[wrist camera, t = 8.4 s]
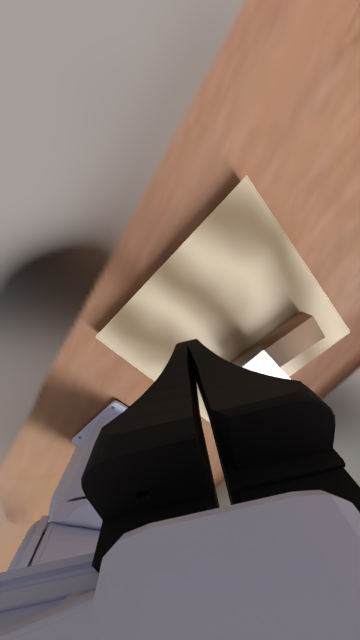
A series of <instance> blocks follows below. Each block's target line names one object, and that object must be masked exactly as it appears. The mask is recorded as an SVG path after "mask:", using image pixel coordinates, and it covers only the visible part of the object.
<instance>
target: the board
mask: <svg viewBox="0 0 360 640" xmlns="http://www.w3.org/2000/svg"><path fill="white" fill-rule="evenodd" d="M301 311H302V312H305V313H307V314H309V315H312V316H313V317H314V318H315V320H316V322H317V324H318V325H319V327H320V329H321V330H322V332H323V334H324V336H325V338H323V339H322V340H320V341H319V342H317V343H316V344H314V345H313V346H311V347H310V348H308V349H307V350H305V351H304V352H302V353H301V354H299V355H298V356H296V357H295V358H293V359H292V360H290V361H289V362H287V363H286V364H284V365H283V366H281V367H280V368H281V369H282V370H283V371H284V372H285V374H286V375H287V376H288V377H289V376H291V375H292V374H294V373H295V372H296V371H298V370H299V369H300V368H302V367H303V366H304V365H306V364H307V363H309V362H310V361H311V360H313V359H314V358H315V357H317V356H318V355H320V354H321V353H322V352H324V351H325V350H326V349H328V348H329V347H331V346H332V345H333V344H335V343H336V342H337V341H339V340H340V339H342V338H343V337H344V336H346V335H347V334H348V333H350V330H349V329H348V327H347V326H346V324H345V323H344V321H343V320H342V318H341V317H340V315H339V314H338V312H337V311H336V309H335V308H334V306H333V305H332V303H331V302H330V300H329V299H328V297H327V296H326V294H325V293H324V291H323V290H322V288H321V287H320V285H319V284H318V282H317V281H316V279H315V278H314V276H313V275H312V273H311V272H310V270H309V269H308V267H307V266H306V264H305V263H304V261H303V260H302V258H301V257H300V255H299V254H298V252H297V250H296V249H295V247H294V246H293V244H292V243H291V241H290V240H289V238H288V237H287V235H286V234H285V232H284V231H283V229H282V228H281V226H280V225H279V223H278V222H277V220H276V219H275V217H274V216H273V214H272V213H271V211H270V210H269V208H268V207H267V205H266V204H265V202H264V201H263V199H262V198H261V196H260V195H259V193H258V192H257V190H256V189H255V187H254V186H253V184H252V183H251V181H250V180H249V178H248V177H247V175H246V176H245V177H244V178H243V179H242V180H241V182H240V183H239V184H238V185H237V186H236V187H235V188H234V189H233V190H232V191H231V192H230V193H229V194H228V195H227V196H226V198H225V199H224V200H223V201H222V202H221V203H220V204H219V205H218V206H217V207H216V208H215V209H214V210H213V211H212V212H211V214H210V215H209V216H208V217H207V218H206V219H205V220H204V221H203V222H202V223H201V224H200V225H199V226H198V227H197V229H196V230H195V231H194V232H193V233H192V234H191V235H190V236H189V237H188V238H187V239H186V240H185V241H184V242H183V243H182V245H181V246H180V247H179V248H178V249H177V250H176V251H175V252H174V253H173V254H172V255H171V256H170V257H169V258H168V259H167V261H166V262H165V263H164V264H163V265H162V266H161V267H160V268H159V269H158V270H157V271H156V272H155V273H154V274H153V276H152V277H151V278H150V279H149V280H148V281H147V282H146V283H145V284H144V285H143V286H142V287H141V288H140V289H139V290H138V292H137V293H136V294H135V295H134V296H133V297H132V298H131V299H130V300H129V301H128V302H127V303H126V304H125V305H124V306H123V308H122V309H121V310H120V311H119V312H118V313H117V314H116V315H115V316H114V317H113V318H112V319H111V320H110V321H109V322H108V324H107V325H106V326H105V327H104V328H103V329H102V330H101V331H100V332H99V333H98V334H97V335H96V337H95V338H97V339H98V340H99V341H101V342H102V343H103V344H105V345H106V346H108V347H109V348H110V349H112V350H113V351H114V352H116V353H117V354H118V355H120V356H121V357H122V358H124V359H125V360H126V361H128V362H129V363H130V364H132V365H133V366H134V367H136V368H137V369H138V370H140V371H141V372H142V373H144V374H145V375H146V376H148V377H149V378H151V379H152V380H153V381H156V380H157V378H158V377H159V376H160V374H161V373H162V371H163V370H164V368H165V366H166V365H167V363H168V361H169V359H170V357H171V355H172V353H173V351H174V348H175V345H176V344H177V343H180V342H184V341H189V340H193V339H198V340H199V341H200V342H201V343H202V344H203V345H204V346H205V347H207V348H208V349H209V350H211V351H212V352H213V353H215V354H216V355H218V356H220V357H221V358H223V359H225V360H227V361H229V362H231V361H232V360H234V359H235V358H236V357H238V356H239V355H240V354H242V353H243V352H245V351H246V350H247V349H249V348H250V347H252V346H253V345H254V344H256V343H257V342H259V341H260V340H261V339H263V338H264V337H266V336H267V335H268V334H270V333H271V332H273V331H274V330H275V329H277V328H278V327H280V326H281V325H282V324H284V323H285V322H287V321H288V320H289V319H291V318H292V317H294V316H295V315H296V314H298V313H299V312H301ZM197 391H198V399H199V408H200V416H202V417H203V418H204V419H206V420H207V421H208V422H210V420H209V417H208V414H207V411H206V408H205V405H204V403H203V400H202V397H201V394H200V391H199V388H198V385H197Z"/></svg>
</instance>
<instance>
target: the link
mask: <svg viewBox="0 0 360 640" xmlns="http://www.w3.org/2000/svg"><path fill="white" fill-rule="evenodd" d="M323 338H325V336H324V334H323V332H322V330H321V329H320V327H319V325H318V324H317V322H316V320H315V318H314V317H313V316H312V315H309V314H307V313H305V312H302V311H301V312H299V313H298V314H296V315H295V316H294V317H292V318H291V319H289V320H288V321H287V322H285V323H284V324H282V325H281V326H280V327H278V328H277V329H275V330H274V331H273V332H271V333H270V334H268V335H267V336H266V337H264V338H263V339H261V340H260V341H259V342H257V343H256V344H254V345H253V346H252V347H250V348H249V349H247V350H246V351H245V352H243V353H242V354H240V355H239V356H238V357H236V358H235V359H234V360H232V361H231V363H233V364H235V365H236V364H237V363H239V362H240V361H241V360H242V359H244V358H245V357H246V356H247V355H249V354H250V353H251V352H252V351H254V350H255V349H256V348H257V347H259V346H260V347H261V348H262V349H263V350H264V351H265V352H266V353H267V354H268V355H269V356H270V357H271V358H272V360H273V361H274V362H275V363H276V364H277V365H278V366H279V367H281V366H283V365H284V364H286V363H287V362H289V361H290V360H292V359H293V358H295V357H296V356H298V355H299V354H301V353H302V352H304V351H305V350H307V349H308V348H310V347H311V346H313V345H314V344H316V343H317V342H319V341H320V340H322V339H323Z"/></svg>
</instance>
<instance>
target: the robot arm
mask: <svg viewBox="0 0 360 640" xmlns="http://www.w3.org/2000/svg"><path fill="white" fill-rule="evenodd" d="M197 385H198V388H199V391H200V394H201V397H202V400H203V403H204V405H205V408H206V411H207V414H208V417H209V420H210V424H211V427H212V431H213V435H214V439H215V443H216V447H217V451H218V455H219V459H220V463H221V467H222V471H223V475H224V479H225V483H226V486H227V491H228V495H229V499H230V503H231V505H230V506H225V507H221V508H220V507H219V503H218V498H217V493H216V489H215V484H214V479H213V475H212V470H211V465H210V461H209V456H208V451H207V447H206V442H205V437H204V433H203V428H202V422H201V416H200V408H199V399H198V391H197ZM112 406H114V407H112ZM334 432H335V415H334V414H333V411H332V410H331V408H330V407H329V406H328V405H327V404H326V403H325V402H323V401H322V400H321V399H320V398H319V397H318V396H317V395H316V394H315V393H314V392H313V391H312V390H310V389H309V388H308V387H307V386H305V385H304V384H303V383H302V382H301V381H296V380H291V379H285V378H279V377H274V376H270V375H266V374H262V373H258V372H255V371H251V370H248V369H246V368H243V367H240V366H238V365H235V364H233V363H231V362H229V361H227V360H225V359H223V358H221V357H220V356H218V355H216V354H215V353H213V352H212V351H211V350H209V349H208V348H207V347H205V346H204V345H203V344H202V343H201V342H200V341H199V340H198V339H193V340H189V341H184V342H180V343H177V344H176V345H175V348H174V351H173V353H172V355H171V357H170V359H169V361H168V363H167V365H166V366H165V368H164V370H163V371H162V373H161V374H160V376H159V377H158V378H157V380H156V381H155V382H154V383H153V384H152V385H151V386H150V388H149V389H148V390H147V391H146V392H145V393H144V394H143V395H142V396H141V397H140V398H139V399H138V400H137V401H135V402H134V403H133V404H132V405H131V406H130V407H127V406H125V405H124V404H122V403H120V402H119V401H117V400H115V401H113V402H111V403H110V404H109V405H108V406H107V407H106V408H105V409H104V410H103V411H102V412H101V413H100V414H98V415H97V416H96V417H95V418H94V419H93V420H92V421H91V422H90V423H89V424H88V425H86V426H85V427H84V428H83V429H82V430H81V431H80V432H79V433H78V434H77V435H76V436H74V437H73V439H72V442H73V443H74V444H76V445H77V447H76V449H75V451H74V453H73V455H72V457H71V459H70V461H69V463H68V465H67V467H66V469H65V471H64V474H63V476H62V478H61V480H60V482H59V484H58V486H57V488H56V490H55V492H54V494H53V497H52V500H51V503H50V507H49V516H45V515H44V516H42V517H41V519H40V520H38V521H37V522H36V523H34V524H33V525H32V526H31V527H30V529H29V530H28V532H27V534H26V536H25V538H24V539H23V541H22V543H21V545H20V547H19V549H18V550H17V552H16V554H15V556H14V558H13V560H12V562H11V564H10V566H9V568H8V570H7V572H2V573H0V640H360V487H359V486H358V485H357V484H356V482H355V481H354V480H353V479H352V478H351V476H350V475H349V474H348V473H347V472H346V470H345V469H344V468H343V467H345V463H344V461H343V459H342V458H341V457H340V456H339V455H338V453H337V452H336V451H335V450H334V449H333V441H334ZM48 520H49V522H48Z"/></svg>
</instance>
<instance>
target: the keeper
mask: <svg viewBox="0 0 360 640" xmlns="http://www.w3.org/2000/svg"><path fill="white" fill-rule="evenodd" d="M236 365H238V366H240V367H243V368H246V369H248V370H251V371H255V372H258V373H262V374H266V375H270V376H274V377H279V378H285V379H290V378H289V377H288V376H287V375H286V374H285V372H284V371H283V370H282V369H281V368H280V367H279V366H278V365H277V364H276V363H275V362H274V361H273V360H272V358H271V357H270V356H269V355H268V354H267V353H266V352H265V351H264V350H263V349H262V348H261V347H260V346H259V347H257V348H256V349H255V350H254V351H252V352H251V353H250V354H249V355H247V356H246V357H245V358H244V359H242V360H241V361H240V362H239V363H237V364H236Z"/></svg>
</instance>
